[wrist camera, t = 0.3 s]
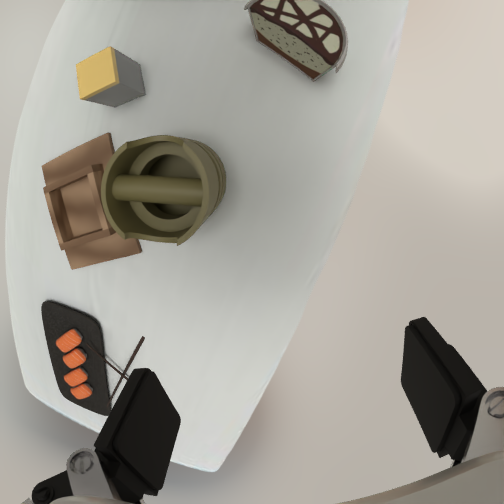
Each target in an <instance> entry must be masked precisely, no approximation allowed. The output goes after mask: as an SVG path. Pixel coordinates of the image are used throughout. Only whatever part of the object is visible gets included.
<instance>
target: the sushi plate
mask: <svg viewBox="0 0 504 504" xmlns="http://www.w3.org/2000/svg"><path fill="white" fill-rule="evenodd" d="M41 311H42V320H43V325H44V331H45V336H46V341H47V345H48V350H49V354H50V358H51V362H52V366H53V370H54V374H55V377H56V381H57V384H58V387H59V390H60V392H61V393H62V395H63V396H64V397H65V398H66V399H68V400H69V401H71V402H73V403H75V404H77V405H79V406H81V407H83V408H86V409H88V410H90V411H93V412H95V413H98V414H101V415H104V416H109V414H110V412H111V408H110V402H111V400H112V398H113V396H114V394H115V392H116V390H117V388H118V386H119V384H120V383H121V381H122V379H123V377H124V378H125V379H126V380H128V378H127V377H126V376H125V373H126V372H127V370H128V368H129V366H130V364H131V363H132V361H133V359H134V357H135V355H136V354H137V352H138V350H139V348H140V346H141V345H142V343H143V341H144V339H145V337H143V336H142V338H141V339H140V341H139V343H138V345H137V347H136V349H135V351H134V353H133V354H132V356H131V358H130V360H129V362H128V364H127V366H126V368H125V370H124V372H123V374H122V373H121V372H120V371H118V370H117V369H116V368H115V367H114V366H113V365H111V364H110V363H109V362H108V361H107V360H106V359H104V355H103V345H102V337H101V332H100V329H99V326H98V324H97V323H96V322H95V321H94V320H93V319H91V318H90V317H88V316H86V315H84V314H82V313H79V312H77V311H74V310H72V309H69V308H67V307H64V306H61V305H59V304H56V303H53V302H49V301H45V302H43V304H42V307H41ZM104 361H105V362H106V363H107V364H108V365H110V366H111V367H112V368H113V369H114V370H115V371H117V372H118V373H119V374H120V375H121V378H120V380H119V382H118V384H117V386H116V388H115V390H114V392H113V394H112V396H111V398H110V400H109V394H108V388H107V381H106V373H105V365H104Z"/></svg>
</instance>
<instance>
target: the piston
mask: <svg viewBox="0 0 504 504" xmlns="http://www.w3.org/2000/svg"><path fill="white" fill-rule="evenodd" d="M225 188H226V174H225V169H224V166H223V164H222V162H221V160H220V158H219V157H218V155H217V154H216V153H215V152H214V151H213V150H212V149H211V148H210V147H208V146H207V145H205V144H203V143H201V142H199V141H195V140H190V139H185V138H180V137H175V136H168V135H159V136H152V137H147V138H143V139H139V140H135V141H130V142H126V143H125V144H123V145H122V146H121V147H120V148H119V149H118V150H117V151H116V152H115V153H114V154H113V156H112V157H111V158H110V160H109V162H108V164H107V166H106V168H105V171H104V174H103V178H102V183H101V200H102V205H103V209H104V212H105V215H106V217H107V219H108V221H109V223H110V225H111V226H112V228H113V229H114V230H115V231H116V232H117V234H118V235H119V236H121V237H122V238H123V239H124V240H126V239H129V238H135V239H143V240H149V241H155V242H165V243H177V246H178V245H180V244H182V243H183V242H185V241H186V240H187V239H189V238H190V237H191V236H192V235H193V234H194V233H195V232H196V231H197V229H198V228H199V227H200V226H201V225H202V224H203V223H204V221H205V220H206V219H207V218H208V217H209V216H210V215H211V214H212V212H213V211H214V210H215V209H216V208H217V207H218V205H219V204H220V202H221V200H222V198H223V196H224V193H225Z"/></svg>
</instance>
